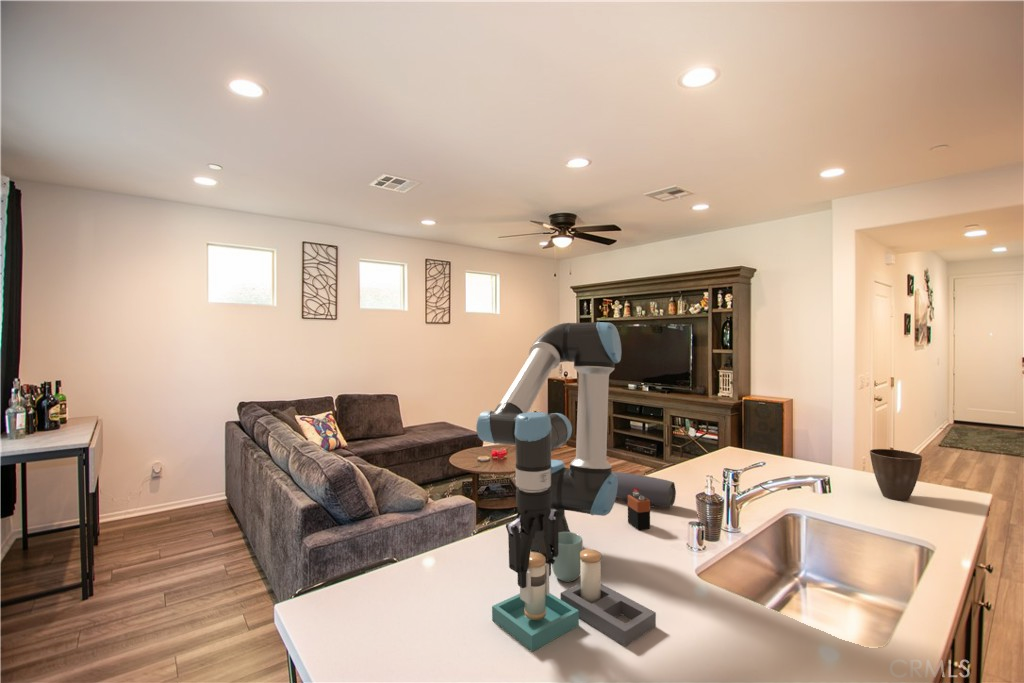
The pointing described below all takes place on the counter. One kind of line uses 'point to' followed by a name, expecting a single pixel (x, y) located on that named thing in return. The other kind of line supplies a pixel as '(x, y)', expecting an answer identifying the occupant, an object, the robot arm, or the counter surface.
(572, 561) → the cup
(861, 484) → the counter surface
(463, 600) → the counter surface
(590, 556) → the cylinder
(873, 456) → the plant pot
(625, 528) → the counter surface
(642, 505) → the battery
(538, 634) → the parts tray
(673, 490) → the bluetooth speaker
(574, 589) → the fuse holder
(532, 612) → the fuse
